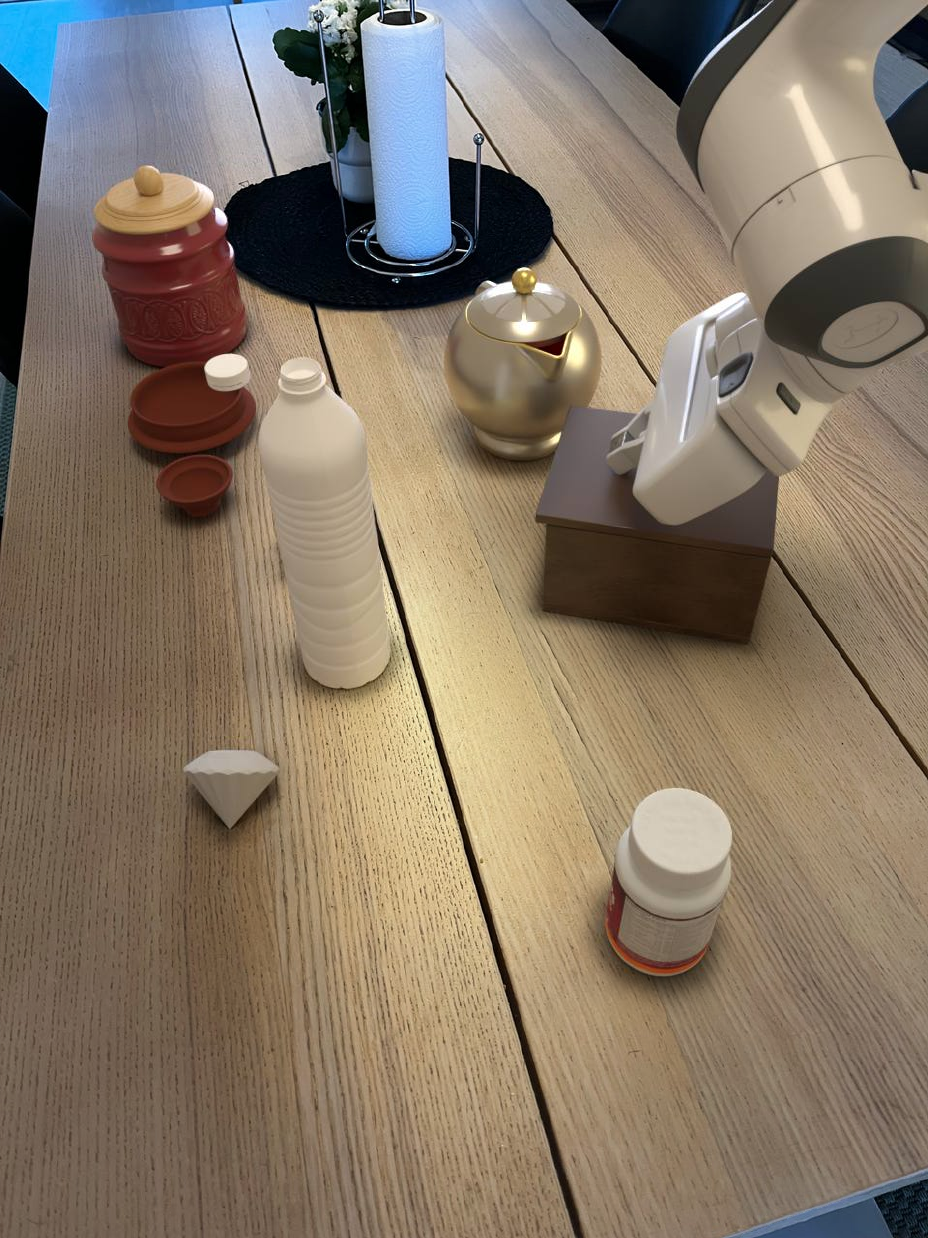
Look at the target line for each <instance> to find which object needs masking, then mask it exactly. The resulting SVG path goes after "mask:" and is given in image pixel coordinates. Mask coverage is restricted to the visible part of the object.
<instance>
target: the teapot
mask: <svg viewBox="0 0 928 1238" xmlns="http://www.w3.org/2000/svg"><path fill="white" fill-rule="evenodd" d="M537 279H538V277H537V275H536V273H535V272H534V271H533V270H532V269H530V268H528V267H521V268H517V270H516V271H514V273H513V274H512V276H511V280H509V281H504V282H501V283H495V282H493V281H490V280H485V281H483V282H481V283H480V285H478V287H477V288H476V290H475V292H474V297H473V298H472V299H471V300H470V301H469V302H467V304H466V305H465V306H464V307H463V308H462V310H461V311H460V312H459V314H458V315H457V317H456V319H455V320H454V322H453V323H452V326H451V327H450V330H449V333H448V335H447V339H446V342H445V347H444V348H445V349H444V354H443V370H444V377H445V382H446V386H447V389H448V391H449V395H450V397H451V398H452V401H453V402H454V404H455V406H456V407H457V410H459V412H460V413H461V414H462V415H463V417H464V418H465V419H466V420H467V421H468V422H469V423H470V424H472V432H473V436H474V438H475V440H476V442H477V443H478V444H479V446H480V447H481V448H482V449H483V450H485V451H486V452H488V453H489V454H491V455H493V456H495V457H498V458H500V459H504V460H509V461H515V462H516V461H517V462H518V461H519V462H524V461H525V462H526V461H535V460H539V459H543V458H545V457H548V456H549V455H552V454H555V451H556V448H557V445H558V442H559V439H560V435H561V432H562V429H563V426H564V423H565V420H566V416H567V413H568V410H569V407H570V405H573V406H581V407H589V405H590V403H591V401H592V400H593V398H594V397H595V393H596V391H597V390H598V386H599V381H600V378H601V373H602V366H603V365H602V363H603V361H602V360H603V359H602V356H603V355H602V346H601V341H600V338H599V333H598V331H597V329H596V327H595V324H594V323H593V320H592V318H591V317H590V315H589V314H588V312H587V311H586V310H585V308H584V307H583V306H582V305H581V304H580V303H579V301H578V300H576V299H575V298H574V297H573V296H572V295H570V294H569V293H567V292H566V291H564V290H563V289H561V288H560V287H558V286H556V285H555V286H554V285H553V284H551V283H550V284H549V283H547V282H544V281H539V280H537Z"/></svg>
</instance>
